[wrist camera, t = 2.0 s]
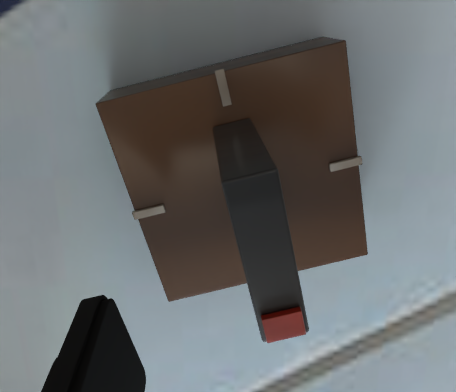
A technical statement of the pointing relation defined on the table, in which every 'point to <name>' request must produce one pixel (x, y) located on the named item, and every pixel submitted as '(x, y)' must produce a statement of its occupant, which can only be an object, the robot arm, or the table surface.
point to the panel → (208, 164)
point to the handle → (261, 230)
